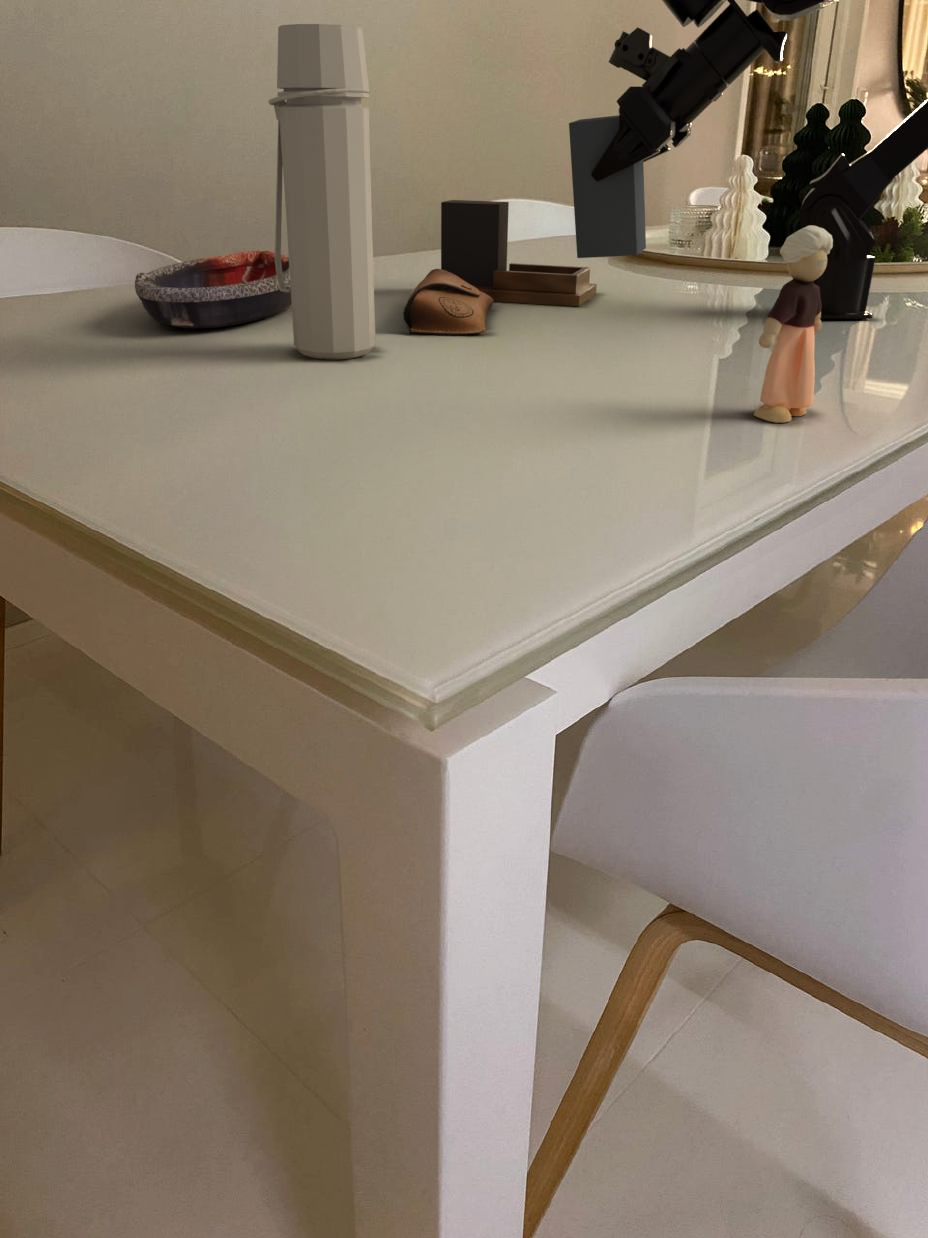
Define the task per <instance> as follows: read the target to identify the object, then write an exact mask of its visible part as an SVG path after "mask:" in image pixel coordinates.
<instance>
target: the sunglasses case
mask: <svg viewBox="0 0 928 1238" xmlns="http://www.w3.org/2000/svg"><path fill="white" fill-rule="evenodd" d="M494 302H495V301H494V300H493V299H492V298H491V297H490V296H489V295H487V294H486V293H484V292H482V291H479V290H478V289H476V288H475V287H474V286H472V285H470V284H469V283H467V282H466V281H464V280H462V279H461V278H459V277H458V276H456V275H454V274H452V273H450V272H448V271H445V270H442V269H441V268H434V269H431V270H430V271H428V273H427V274H426V276H425V277H424V278H423V279H422V280H421V281H420V282H419V283H418V284H417V285H416V287H415V288H414V289H413V291H412V292H411V294H410V295H409V297H408V299H407V302H406V304H405V306H404V309H403V311H402V312H403V315H402V317H403V323H404V324H405V325H406V326H407V328H408V329H409V330H410V331H411V332H412V333H416V334H425V335H435V336H461V335H475V334H481V333H486V332H487V320H486V316H487V315H488V312H489V311H490V309H491V308H492V306H493V305H494Z"/></svg>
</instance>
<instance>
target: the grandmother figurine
mask: <svg viewBox="0 0 928 1238" xmlns="http://www.w3.org/2000/svg"><path fill="white" fill-rule="evenodd" d="M832 247H833V239H832V236H831V235H830V234H829V233H828V232H827V231H826V230H825V229H823V228H820V227H817V226H807V227H804V228H800V229H799V230H797V231H795V232H794V233H792V234H790V235H788V236H787V237H786V239H785V241H784V243H783V245H782V246H781V247H780V250H779V254H780V255H781V257H782V258H783V260H784V262H785V263H786V268H787V272H788V274H789V276H790V277H791V278H792V279H790V280H789V281H788V282H786V283H784V284H783V286H782V287H781V289H780V292H779V294H778V297H777V299H776V300H775V301H774V304H773V306H772V308H771V309H770V311H769V313H768V315H767V318H766V319H767V320H766V322H765V324H764V326H763V333H761V334H760V336H759V338H758V344H759V346H760V347H761V348H763V349H770V348H771V347H773V349H772V352H771V354H770V356H769V359H768V361H767V364H766V368H765V373H764V379H763V383H762V388H761V392H760V399H759V402H760V403H762V405H761V406H759V407H757V408H756V410H755V411H754V413H753V416H754V417H756V418H758V419H761V420H764V421H767V422H771V423H778V424H779V423H781V424H782V423H789V422H791V421H792V419H793V418H792V417H801V416H805V415H807V408H810V407H812V406H813V405H814V395H815V375H816V374H815V373H816V372H815V371H816V369H815V367H816V366H815V365H816V364H815V333H816V332H819V331H820V330H821V329H822V325H823V322H822V319H820V317H821V308H822V305H821V298H820V287H819V286H818V285H815V284H814V282H813V281H814V280H816V279H817V278H819V277H820V276H821V275H822V274H823V272H824V271H825V269H826V266H827V254H829V253H830V250H831V249H832ZM775 342H776V343H775ZM774 344H775V345H774Z"/></svg>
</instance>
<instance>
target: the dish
mask: <svg viewBox="0 0 928 1238" xmlns="http://www.w3.org/2000/svg"><path fill="white" fill-rule="evenodd" d="M281 265H282V273H283V279H284V283H285V286H286V289H289V287H290V270H289V255H284V254H282V253H281ZM134 290H135V293H136V296H137V297H138V298H139V300H140V302H141V303H142V306H143V308H144V310H145V311H146V312H147V314H148V315H149V316H150V317H151V318H152V319H153V320H154V321H156V322H158V323H160V324H164V325H167V326H171V327H174V328H180V329H182V328H183V329H212V328H213V329H215V328H221V327H223V328H224V327H230V326H236V325H241V324H246V323H251V322H255V321H259V320H263V319H266V318H269V317H272V316H274V315H277V314H279V313H281V312H282V311H284V310H286V309H288V308H289V307H290V306H292V302H291V292H282V291H280V288H279V284H278V280H277V274H276V266H275V251H274V252H273V251H270V250H247V251H239V252H233V253H228V254H223V255H216V256H210V257H209V256H208V257H202V258H196V259H190V260H185V261H181V262H176V263H173V264H169V265H166V266H162V267H158V268H155V269H153V270H151V271H148V272H139V273H137V274H136V275H135V279H134Z"/></svg>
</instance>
